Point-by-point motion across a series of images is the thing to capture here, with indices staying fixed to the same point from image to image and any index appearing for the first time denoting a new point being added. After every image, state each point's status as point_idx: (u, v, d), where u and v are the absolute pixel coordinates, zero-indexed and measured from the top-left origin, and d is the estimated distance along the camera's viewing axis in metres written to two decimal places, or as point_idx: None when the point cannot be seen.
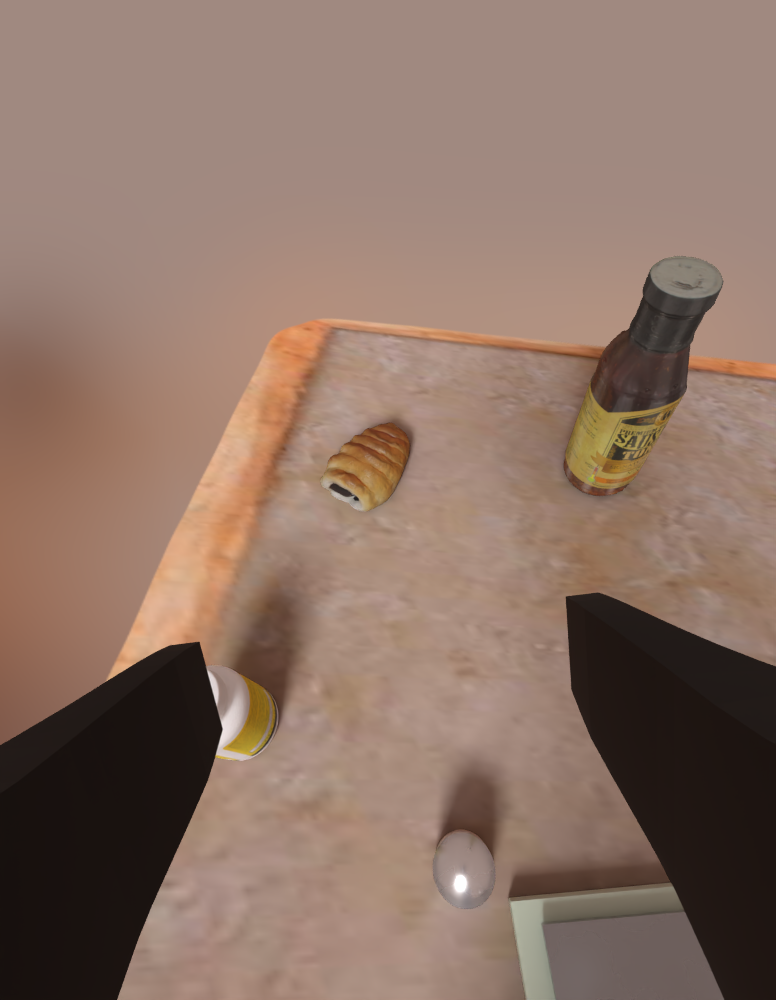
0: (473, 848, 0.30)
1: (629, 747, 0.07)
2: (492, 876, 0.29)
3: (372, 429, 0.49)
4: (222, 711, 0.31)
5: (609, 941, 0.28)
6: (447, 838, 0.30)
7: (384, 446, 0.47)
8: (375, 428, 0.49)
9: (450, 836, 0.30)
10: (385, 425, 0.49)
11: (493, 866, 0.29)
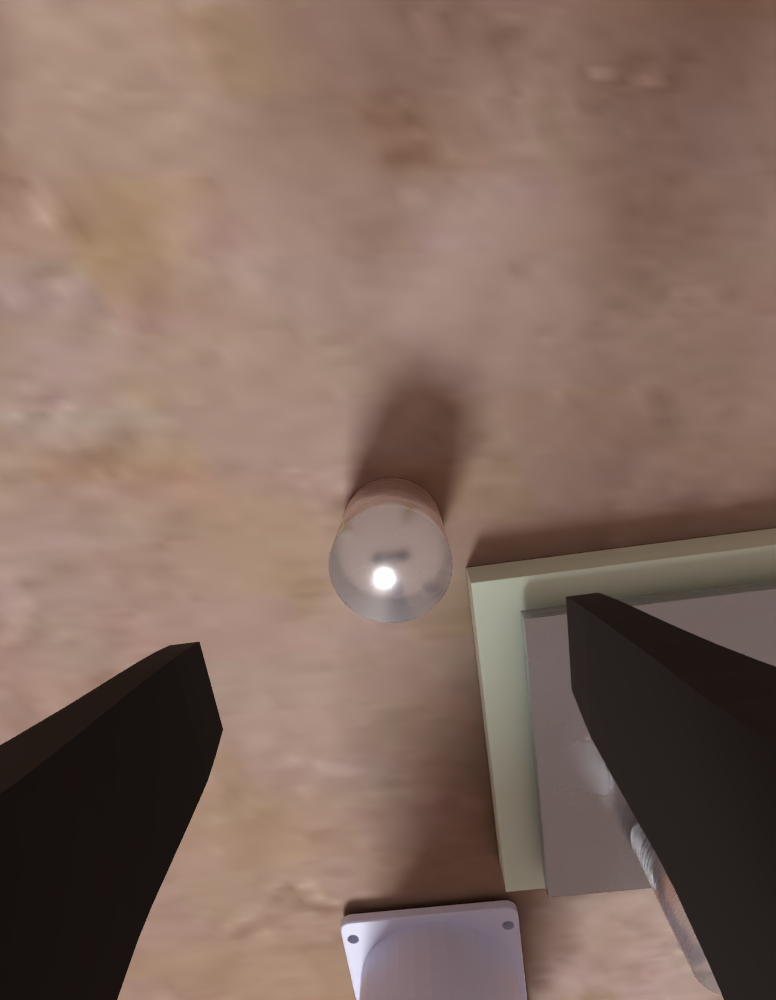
0: (410, 531, 0.14)
1: (629, 747, 0.07)
2: (445, 574, 0.15)
3: None
4: None
5: None
6: (357, 519, 0.14)
7: None
8: None
9: (363, 515, 0.14)
10: None
11: (449, 558, 0.15)
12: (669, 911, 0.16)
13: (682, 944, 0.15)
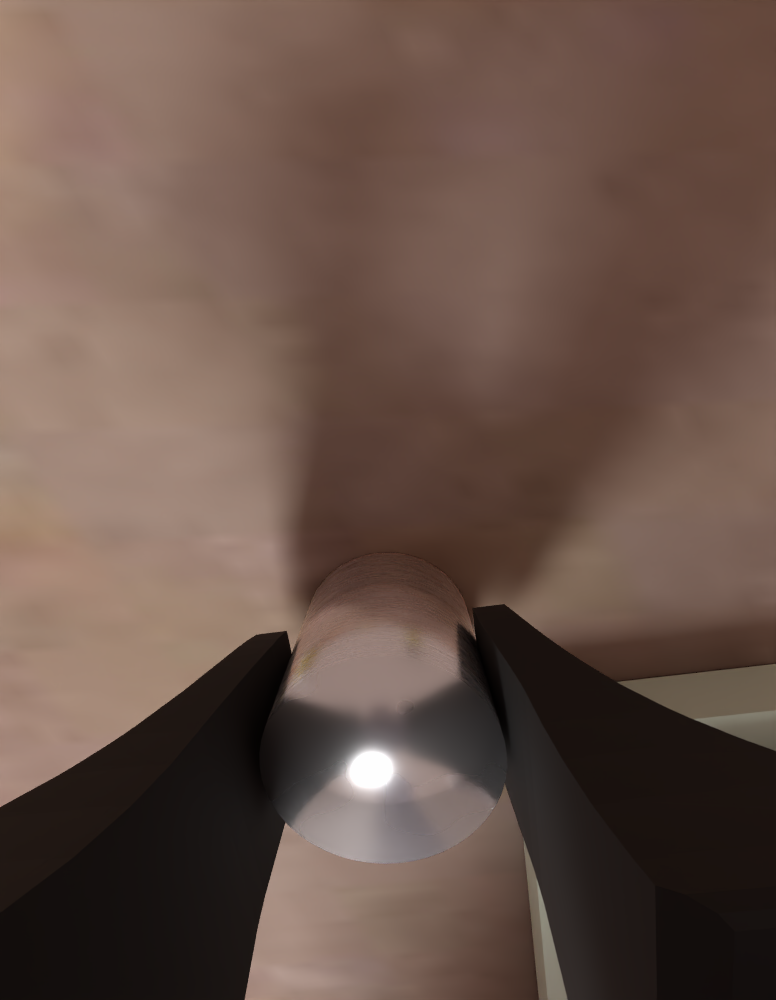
0: (423, 703, 0.07)
1: (511, 760, 0.08)
2: (493, 780, 0.07)
3: None
4: None
5: None
6: (314, 678, 0.07)
7: None
8: None
9: (327, 670, 0.07)
10: None
11: (501, 753, 0.07)
12: None
13: None
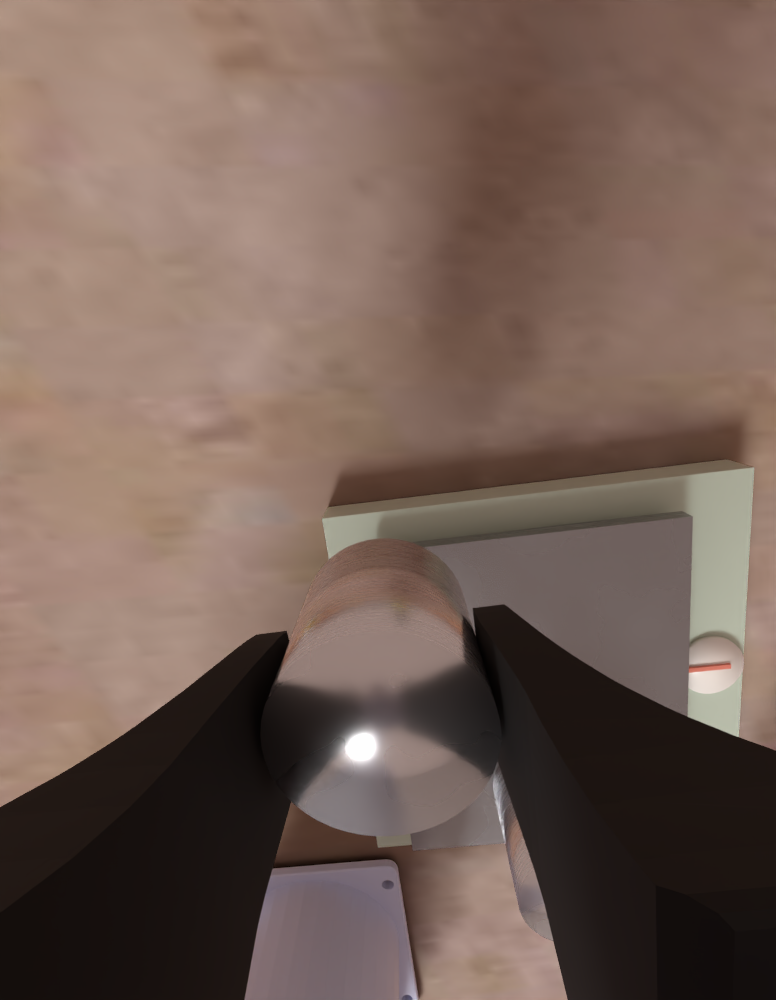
0: (415, 675, 0.07)
1: (512, 759, 0.08)
2: (489, 747, 0.08)
3: None
4: None
5: (481, 569, 0.16)
6: (308, 657, 0.07)
7: None
8: None
9: (320, 648, 0.07)
10: None
11: (494, 721, 0.07)
12: (509, 857, 0.16)
13: (515, 889, 0.15)
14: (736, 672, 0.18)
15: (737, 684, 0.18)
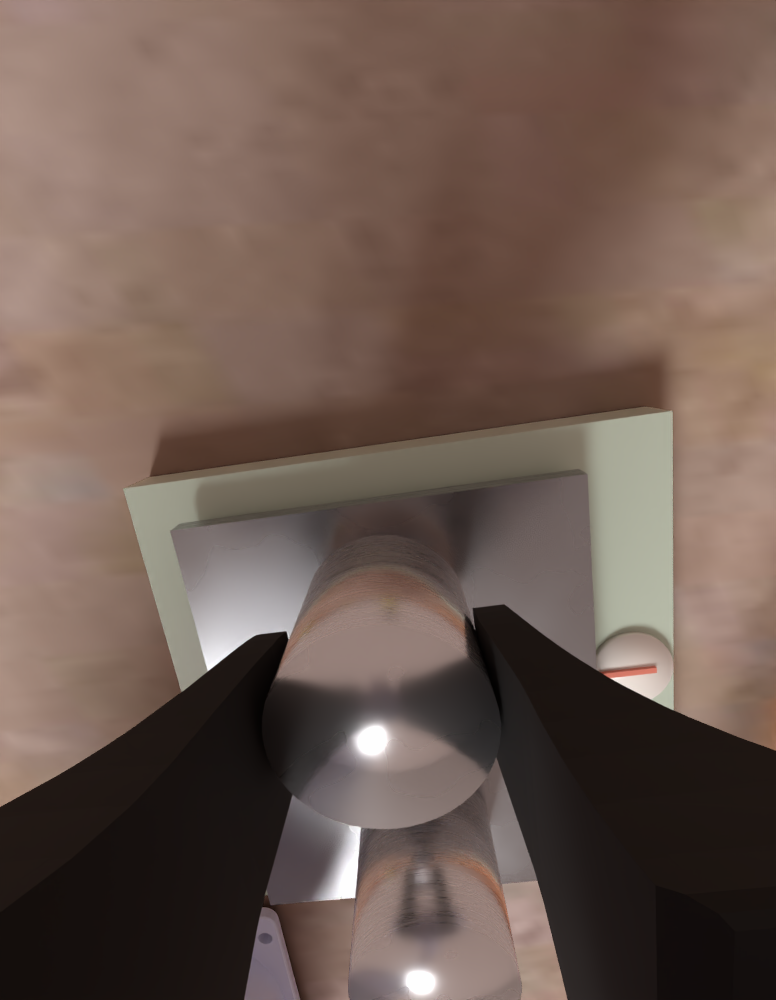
0: (412, 667, 0.07)
1: (512, 760, 0.08)
2: (489, 737, 0.08)
3: None
4: None
5: (318, 549, 0.12)
6: (306, 653, 0.07)
7: None
8: None
9: (317, 644, 0.07)
10: None
11: (493, 710, 0.07)
12: None
13: None
14: (664, 677, 0.14)
15: (668, 692, 0.14)
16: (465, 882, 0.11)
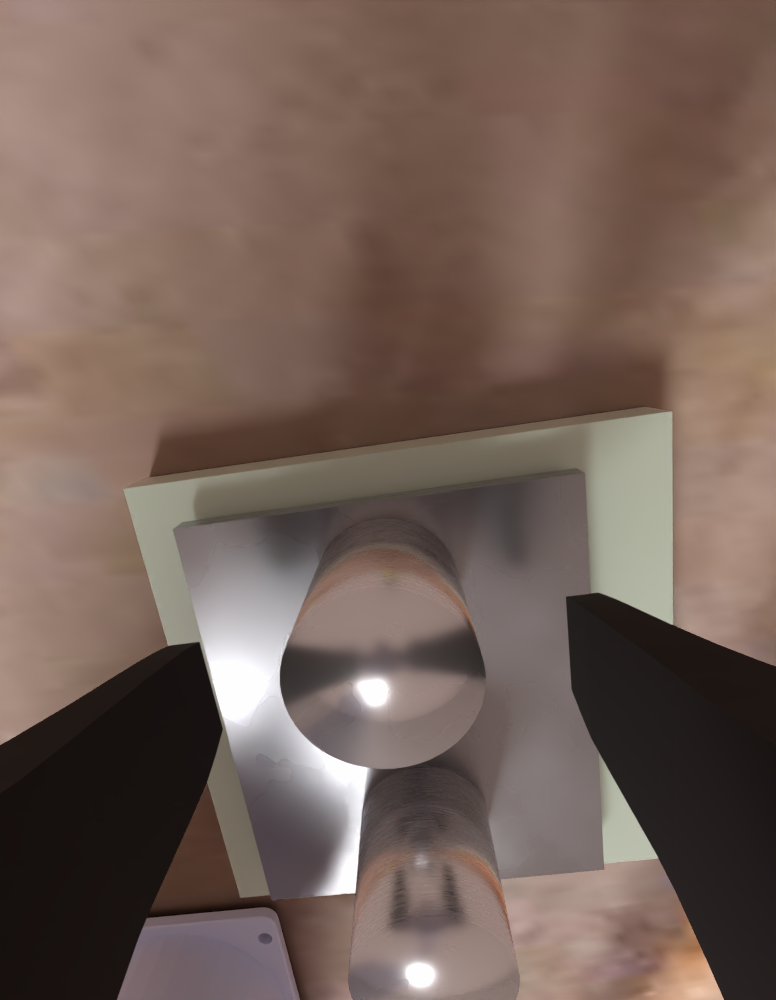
0: (409, 625, 0.09)
1: (630, 747, 0.07)
2: (476, 686, 0.09)
3: None
4: None
5: (319, 547, 0.12)
6: (317, 612, 0.09)
7: None
8: None
9: (327, 604, 0.09)
10: None
11: (479, 662, 0.09)
12: None
13: None
14: None
15: None
16: (464, 876, 0.11)
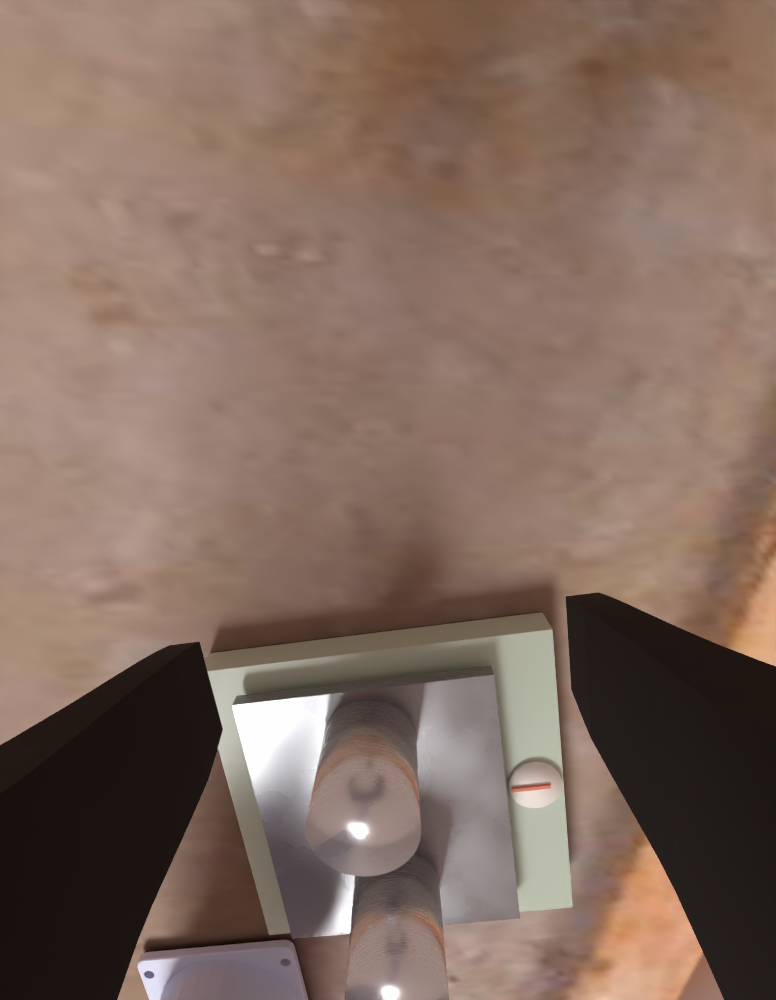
0: (377, 801, 0.15)
1: (629, 747, 0.07)
2: (415, 833, 0.16)
3: None
4: None
5: (326, 716, 0.19)
6: (327, 795, 0.15)
7: None
8: None
9: (332, 791, 0.15)
10: None
11: (417, 821, 0.16)
12: (348, 958, 0.19)
13: None
14: (557, 790, 0.21)
15: (560, 799, 0.21)
16: (416, 931, 0.18)
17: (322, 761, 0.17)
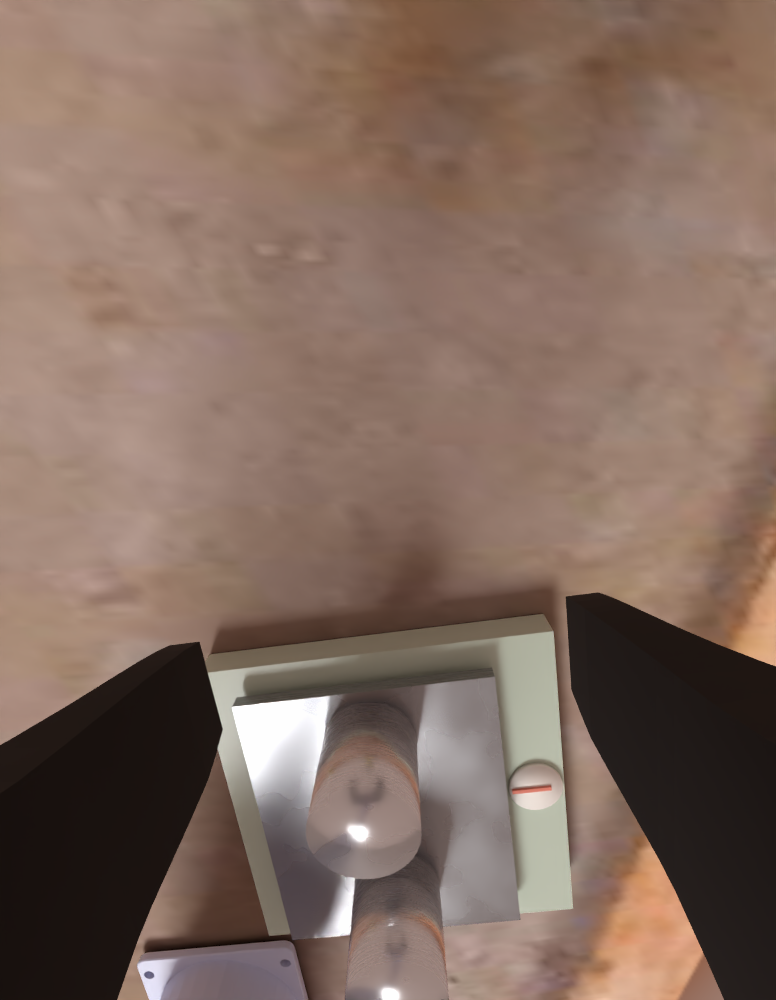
0: (378, 804, 0.15)
1: (629, 747, 0.07)
2: (416, 836, 0.16)
3: None
4: None
5: (326, 718, 0.19)
6: (327, 797, 0.15)
7: None
8: None
9: (332, 793, 0.15)
10: None
11: (417, 823, 0.16)
12: (348, 960, 0.19)
13: None
14: (557, 792, 0.21)
15: (561, 801, 0.21)
16: (417, 934, 0.18)
17: (322, 763, 0.17)
